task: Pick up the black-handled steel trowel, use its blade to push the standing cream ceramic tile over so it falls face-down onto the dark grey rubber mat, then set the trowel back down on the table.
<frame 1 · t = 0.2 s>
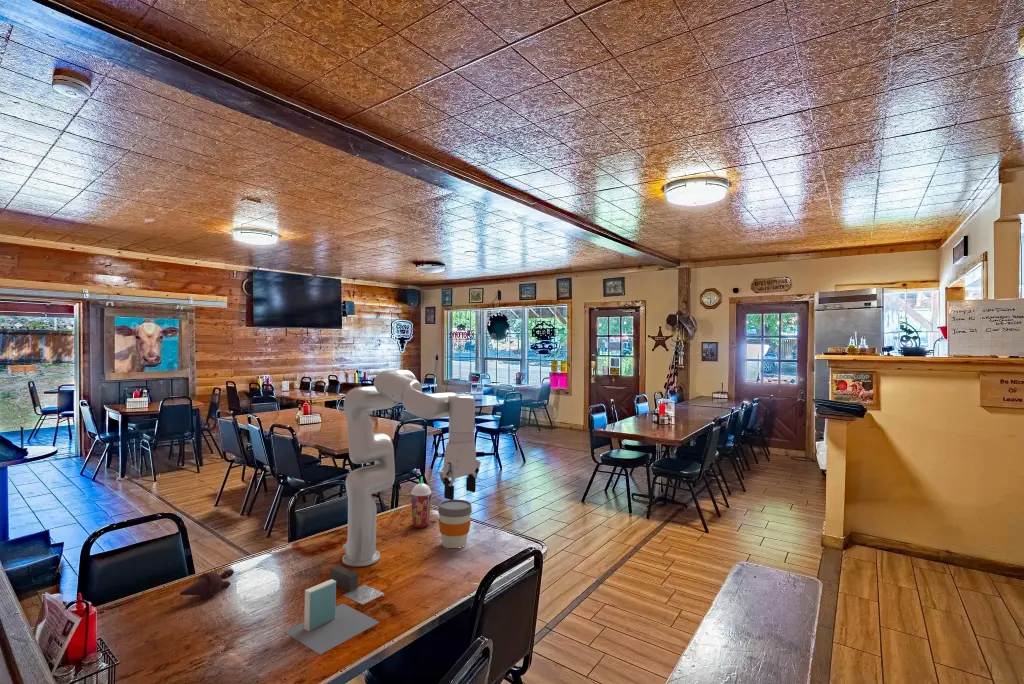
hand: (460, 495, 151), 31 cm above the table, tool pointing down, fingers open, 9 cm apart
smoothie: (420, 525, 211), on the table
trowel: (347, 589, 156), on the table
icecream: (207, 597, 150), on the table
mat: (332, 628, 135), on the table
reusable coffee cup: (454, 544, 193), on the table
tile: (319, 623, 136), point 1 cm above the table, touching mat
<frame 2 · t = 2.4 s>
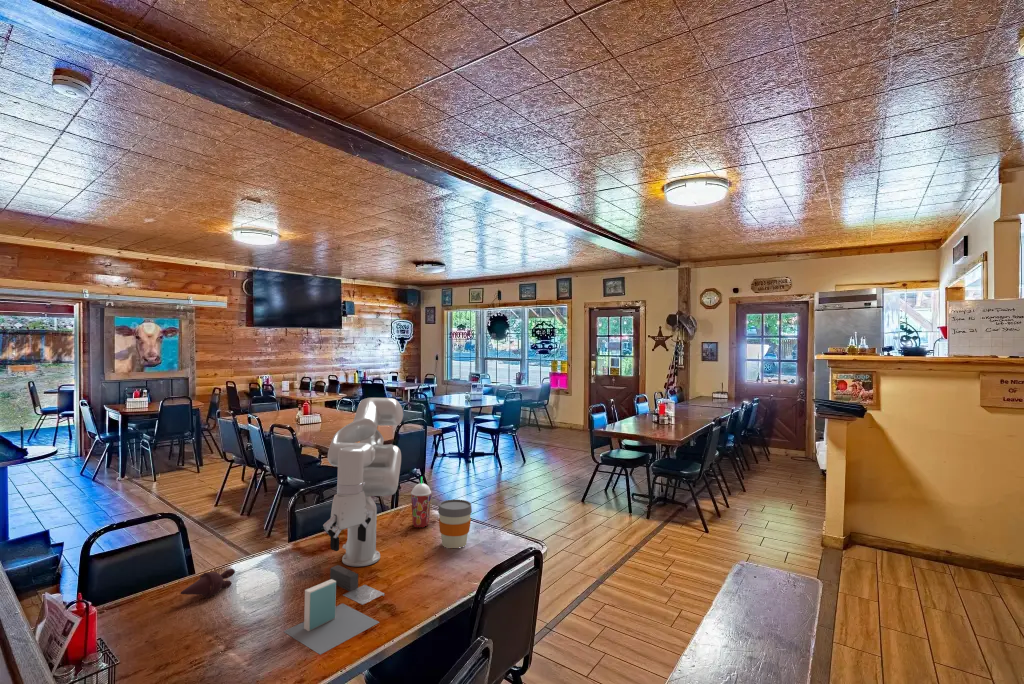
hand: (348, 545, 156), 14 cm above the table, tool pointing down, fingers open, 9 cm apart
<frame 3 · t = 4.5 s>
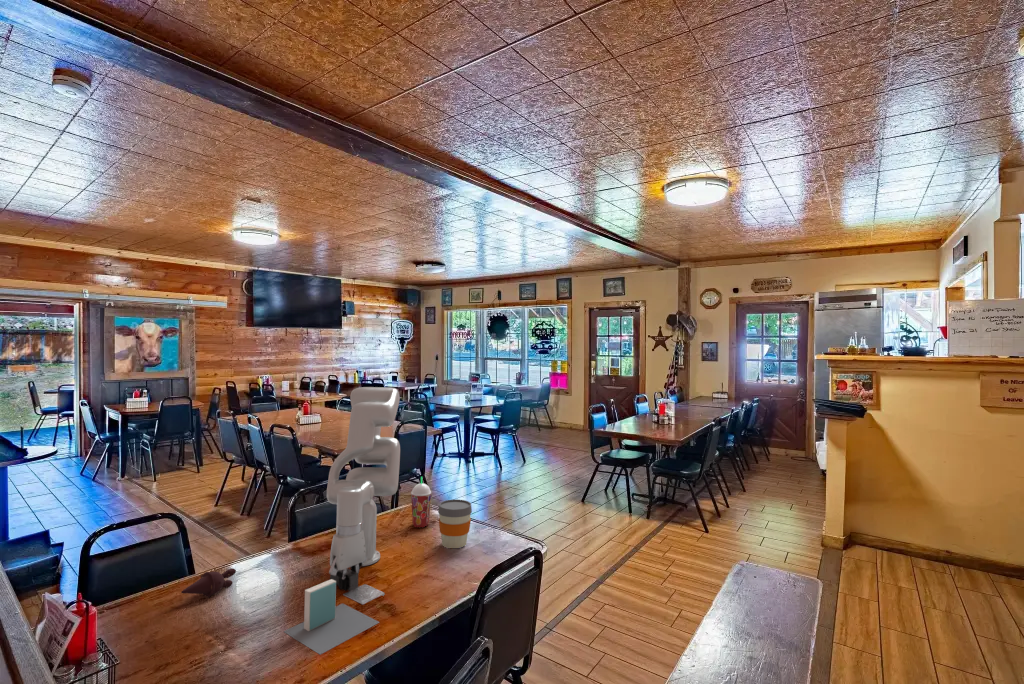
hand: (347, 587, 157), 0 cm above the table, tool pointing down, fingers closed on trowel, 2 cm apart
trowel: (347, 588, 157), on the table, touching gripper
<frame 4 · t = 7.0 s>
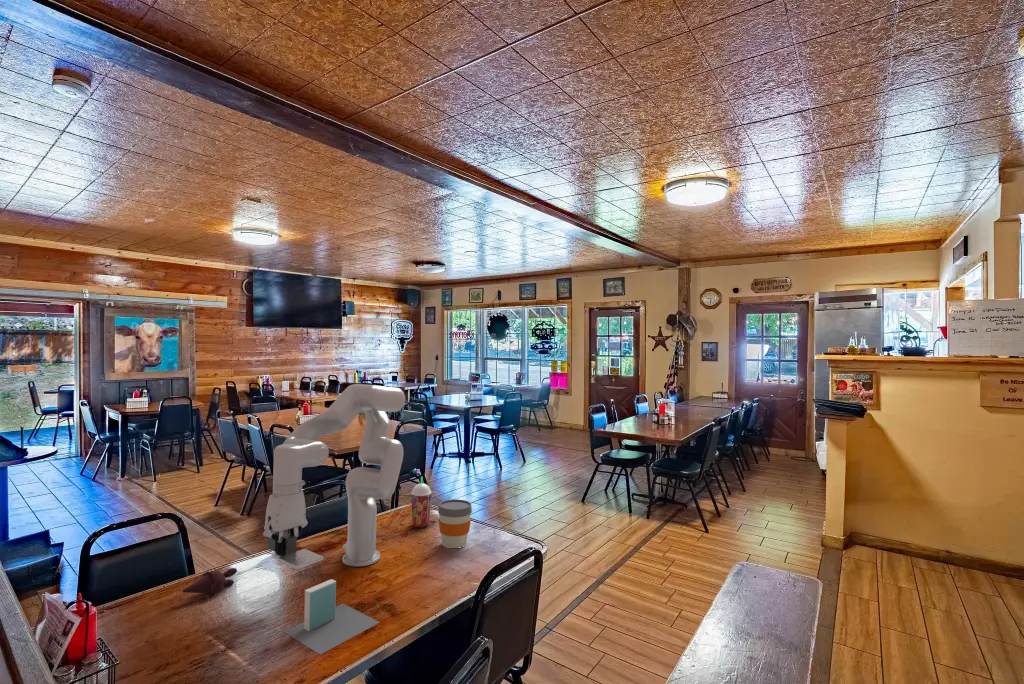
hand: (285, 552, 146), 15 cm above the table, tool pointing down, fingers closed on trowel, 2 cm apart
trowel: (285, 553, 146), point 15 cm above the table, touching gripper
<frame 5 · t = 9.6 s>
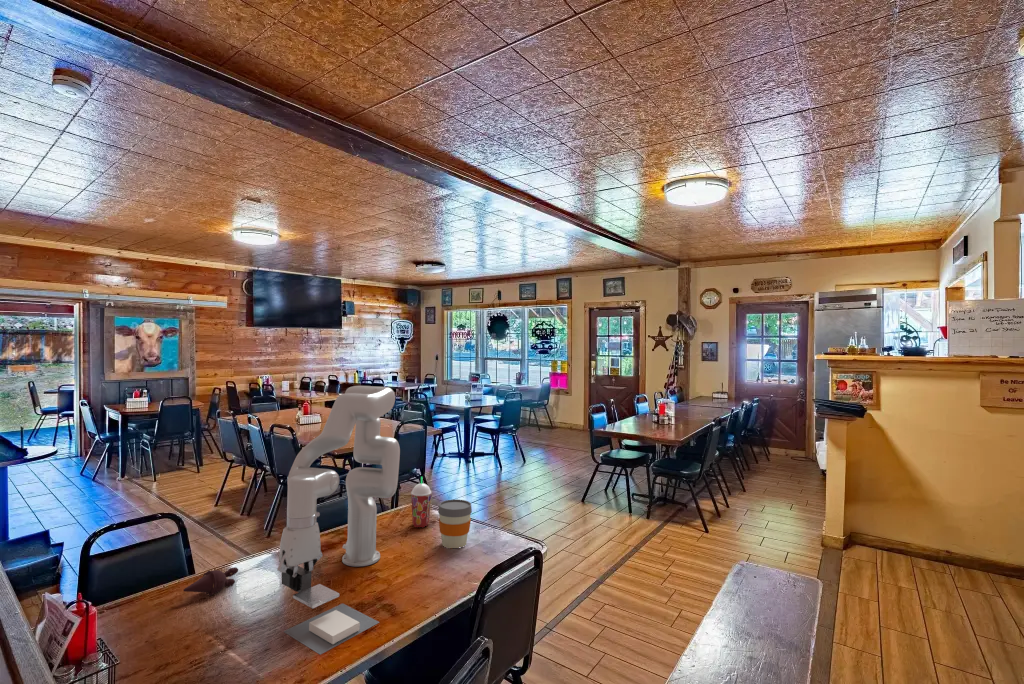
hand: (300, 586, 142), 7 cm above the table, tool pointing down, fingers closed on trowel, 2 cm apart
trowel: (300, 589, 142), point 7 cm above the table, touching gripper
tile: (322, 619, 135), point 2 cm above the table, tilted 90°, touching mat
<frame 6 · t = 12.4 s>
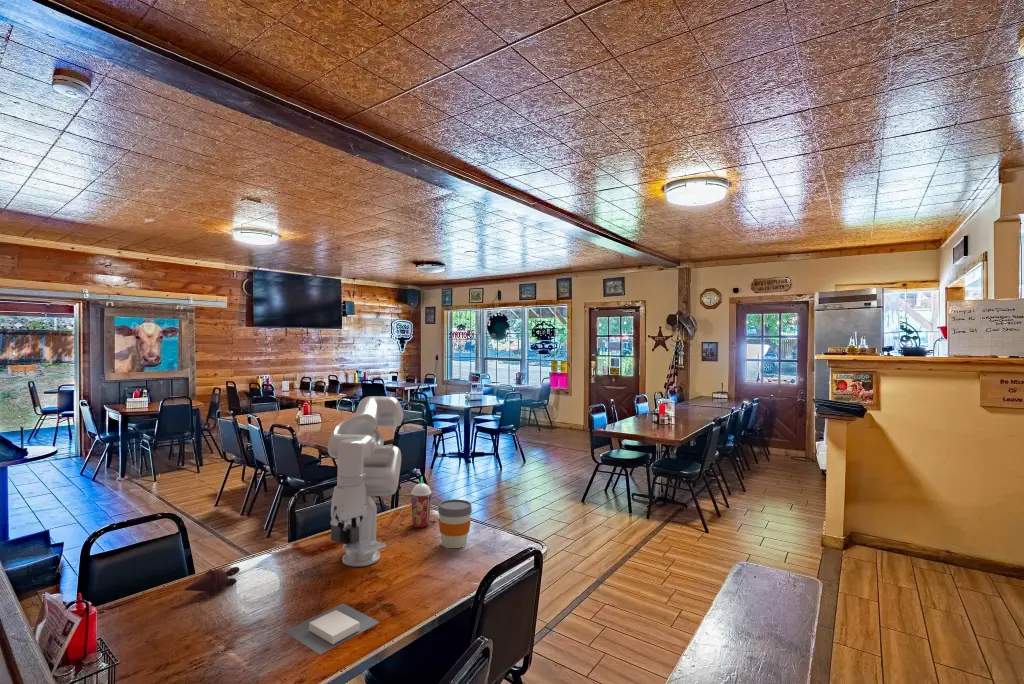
hand: (348, 540, 156), 15 cm above the table, tool pointing down, fingers closed on trowel, 2 cm apart
trowel: (349, 543, 156), point 14 cm above the table, touching gripper
when the fingers open (2 cm above the table, at t = 15.0 s): trowel stays where it is, on the table.
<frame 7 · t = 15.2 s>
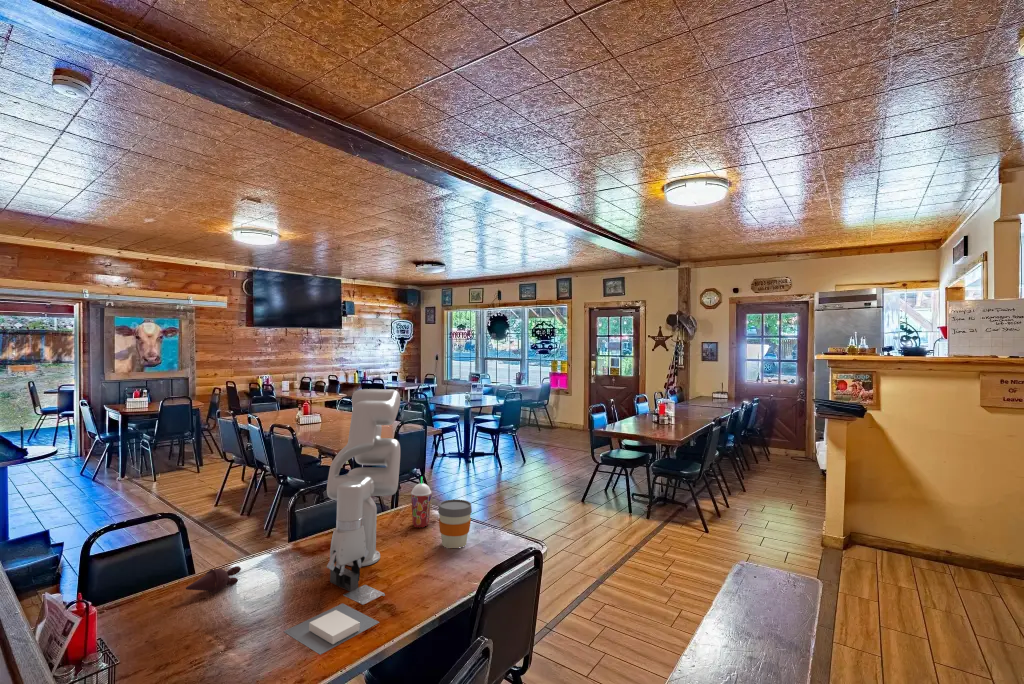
hand: (347, 582, 156), 2 cm above the table, tool pointing down, fingers open, 4 cm apart
trowel: (348, 589, 156), on the table
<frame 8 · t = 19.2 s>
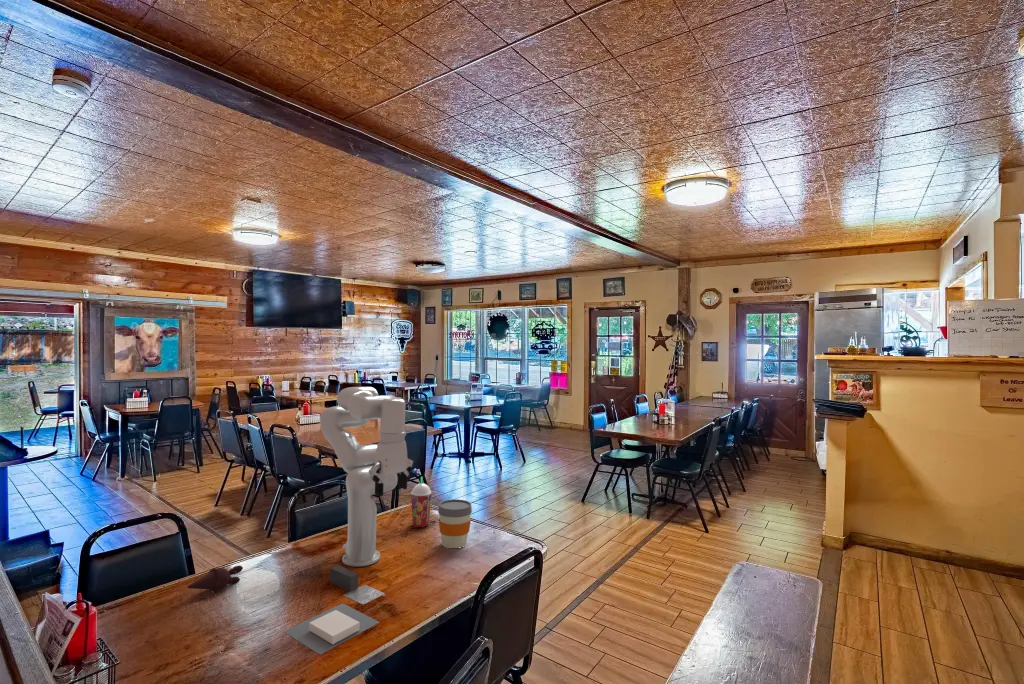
hand: (391, 491, 162), 28 cm above the table, tool pointing down, fingers open, 9 cm apart
at the end: tile tilted 90°; tile inside the target area (2.8 cm from its centre), point 1.9 cm above the table; the gripper is holding nothing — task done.
